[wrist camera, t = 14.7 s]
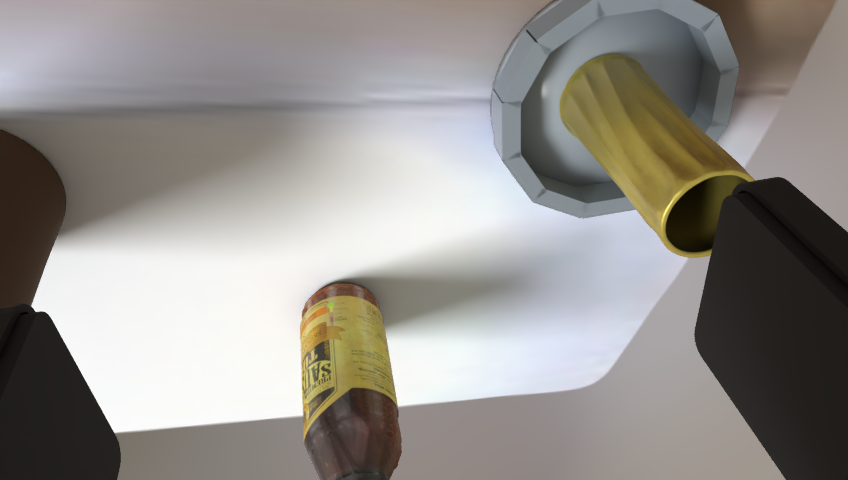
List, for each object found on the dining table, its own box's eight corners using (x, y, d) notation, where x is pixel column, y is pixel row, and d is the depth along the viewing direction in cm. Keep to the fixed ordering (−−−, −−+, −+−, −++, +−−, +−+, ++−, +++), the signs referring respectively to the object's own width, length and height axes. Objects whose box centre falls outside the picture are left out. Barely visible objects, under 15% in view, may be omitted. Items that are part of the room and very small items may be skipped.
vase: (656, 51, 44) (787, 158, 33) (636, 137, 48) (748, 261, 36) (565, 54, 43) (667, 166, 32) (552, 141, 47) (639, 270, 35)
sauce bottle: (307, 274, 51) (320, 516, 35) (388, 282, 53) (436, 517, 37) (292, 339, 54) (298, 586, 38) (370, 345, 56) (406, 583, 40)
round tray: (487, -6, 41) (500, 9, 39) (731, -40, 42) (758, -26, 40) (492, 208, 50) (503, 231, 48) (693, 175, 52) (713, 196, 49)
